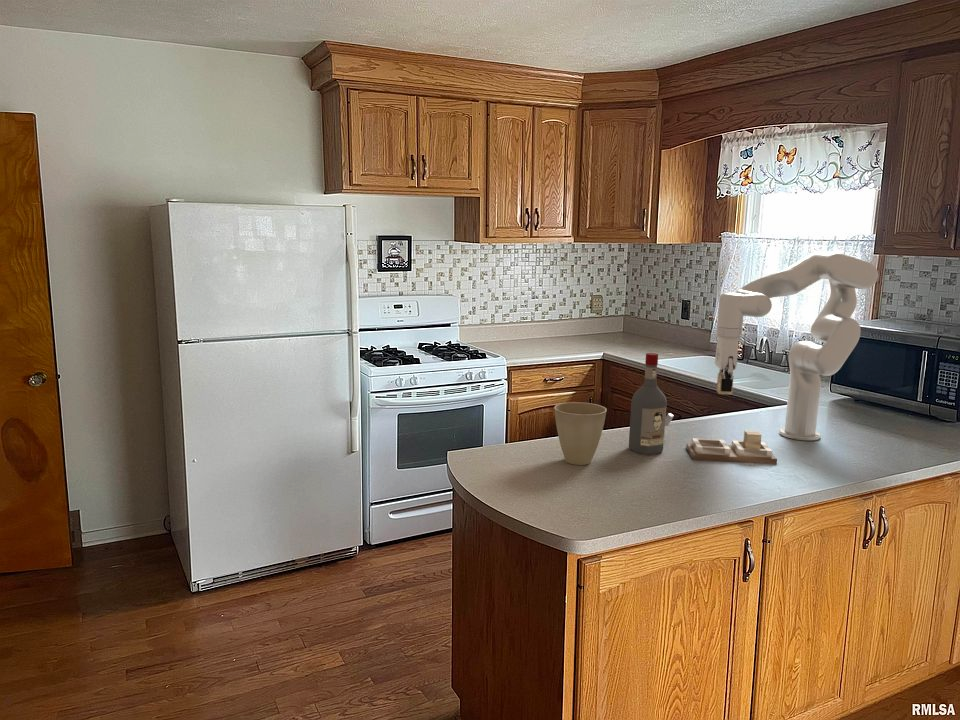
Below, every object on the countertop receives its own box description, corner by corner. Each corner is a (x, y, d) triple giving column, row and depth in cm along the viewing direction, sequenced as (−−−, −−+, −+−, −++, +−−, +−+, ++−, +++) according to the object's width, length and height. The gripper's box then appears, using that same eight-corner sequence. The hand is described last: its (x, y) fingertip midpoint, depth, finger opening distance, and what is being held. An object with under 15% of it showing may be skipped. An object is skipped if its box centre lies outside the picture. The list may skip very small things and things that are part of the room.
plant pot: (612, 459, 222) (615, 407, 219) (589, 473, 210) (592, 417, 207) (567, 450, 230) (569, 399, 227) (542, 462, 218) (544, 408, 215)
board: (686, 447, 235) (688, 424, 234) (765, 451, 233) (768, 428, 231) (693, 459, 223) (694, 435, 222) (776, 464, 221) (779, 439, 220)
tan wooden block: (716, 391, 242) (717, 372, 241) (729, 391, 241) (730, 373, 240) (719, 393, 238) (720, 375, 237) (732, 394, 238) (733, 375, 236)
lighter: (651, 433, 249) (652, 410, 248) (654, 432, 251) (655, 409, 249) (669, 438, 244) (671, 414, 243) (672, 437, 245) (674, 413, 244)
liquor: (624, 447, 233) (630, 352, 228) (647, 444, 238) (654, 350, 232) (643, 456, 225) (650, 357, 220) (667, 452, 230) (674, 355, 224)
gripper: (711, 328, 245) (707, 383, 248) (722, 336, 228) (717, 395, 232) (735, 329, 244) (730, 384, 247) (747, 337, 227) (742, 396, 231)
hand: (724, 389), depth 239 cm, fingers closed on tan wooden block, 3 cm apart
